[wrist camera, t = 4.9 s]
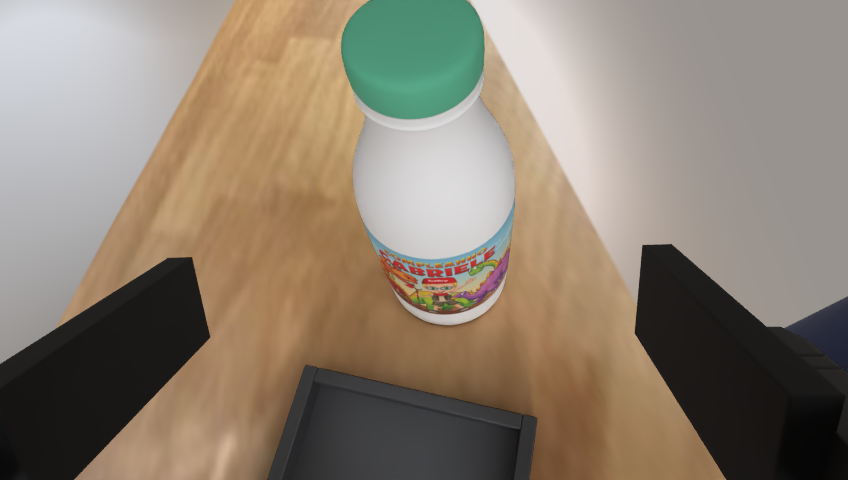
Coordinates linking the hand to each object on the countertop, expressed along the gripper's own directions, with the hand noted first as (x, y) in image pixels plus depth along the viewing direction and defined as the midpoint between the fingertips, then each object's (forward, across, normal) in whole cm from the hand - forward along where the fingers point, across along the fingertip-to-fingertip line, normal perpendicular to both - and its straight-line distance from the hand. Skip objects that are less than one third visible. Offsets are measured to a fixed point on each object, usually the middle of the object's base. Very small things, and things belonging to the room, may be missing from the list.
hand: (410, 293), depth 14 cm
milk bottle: (+18, 0, -7) cm, 19 cm away
